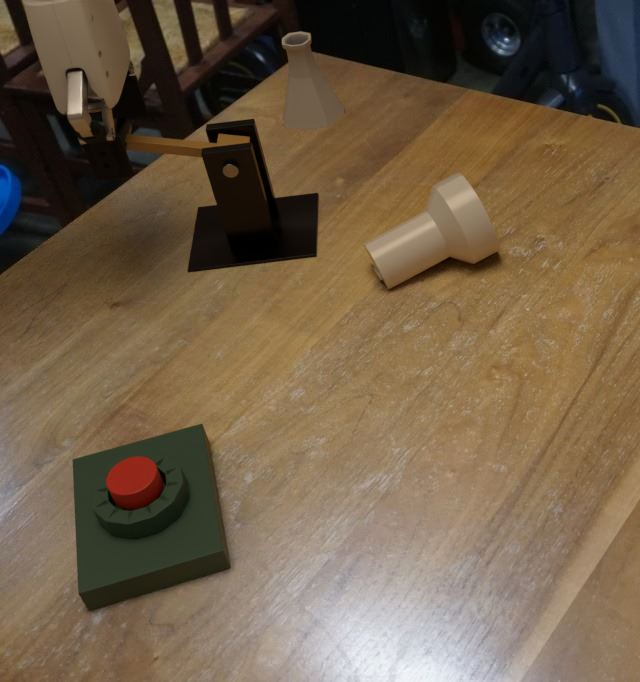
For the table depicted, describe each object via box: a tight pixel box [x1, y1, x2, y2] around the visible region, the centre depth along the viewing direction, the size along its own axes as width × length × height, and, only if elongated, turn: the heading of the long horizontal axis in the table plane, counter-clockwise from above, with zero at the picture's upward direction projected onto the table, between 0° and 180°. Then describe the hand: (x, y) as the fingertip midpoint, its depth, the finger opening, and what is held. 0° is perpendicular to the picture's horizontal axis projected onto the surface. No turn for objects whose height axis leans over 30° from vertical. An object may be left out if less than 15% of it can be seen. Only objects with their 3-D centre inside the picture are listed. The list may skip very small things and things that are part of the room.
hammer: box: [113, 118, 250, 158], centre depth 99 cm, size 12×5×2 cm, turn 96°
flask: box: [281, 30, 345, 132], centre depth 119 cm, size 7×7×10 cm
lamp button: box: [106, 456, 163, 510], centre depth 79 cm, size 4×4×2 cm
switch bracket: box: [187, 118, 320, 273], centre depth 103 cm, size 12×10×12 cm
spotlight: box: [362, 172, 501, 290], centre depth 100 cm, size 8×11×8 cm
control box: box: [72, 423, 232, 612], centre depth 81 cm, size 13×10×4 cm
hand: (123, 145), depth 98 cm, fingers open, 9 cm apart
